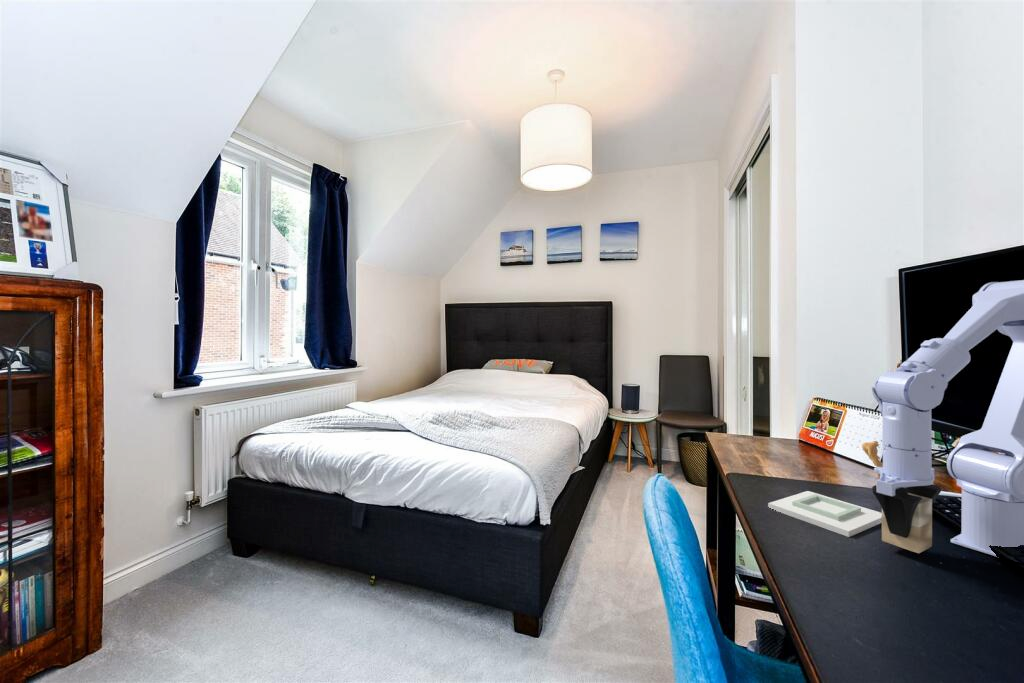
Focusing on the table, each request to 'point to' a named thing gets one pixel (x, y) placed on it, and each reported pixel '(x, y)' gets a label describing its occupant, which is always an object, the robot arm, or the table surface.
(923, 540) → the block stack
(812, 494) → the collar board
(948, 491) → the table surface
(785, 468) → the table surface
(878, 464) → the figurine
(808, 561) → the table surface
